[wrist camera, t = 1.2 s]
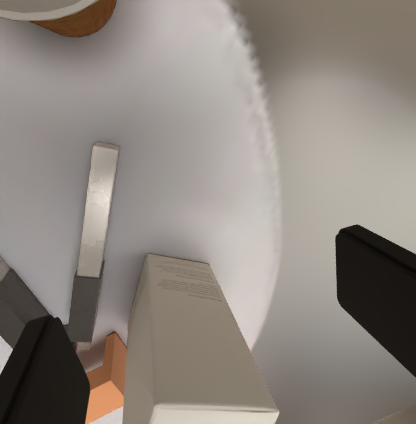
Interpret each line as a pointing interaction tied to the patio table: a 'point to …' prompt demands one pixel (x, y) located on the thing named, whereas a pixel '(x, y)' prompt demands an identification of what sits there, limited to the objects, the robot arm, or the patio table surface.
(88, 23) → the disposable coffee cup
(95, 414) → the collar
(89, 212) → the tongs arm
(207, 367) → the skincare box
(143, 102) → the patio table surface
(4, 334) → the tongs fixed
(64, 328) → the robot arm
